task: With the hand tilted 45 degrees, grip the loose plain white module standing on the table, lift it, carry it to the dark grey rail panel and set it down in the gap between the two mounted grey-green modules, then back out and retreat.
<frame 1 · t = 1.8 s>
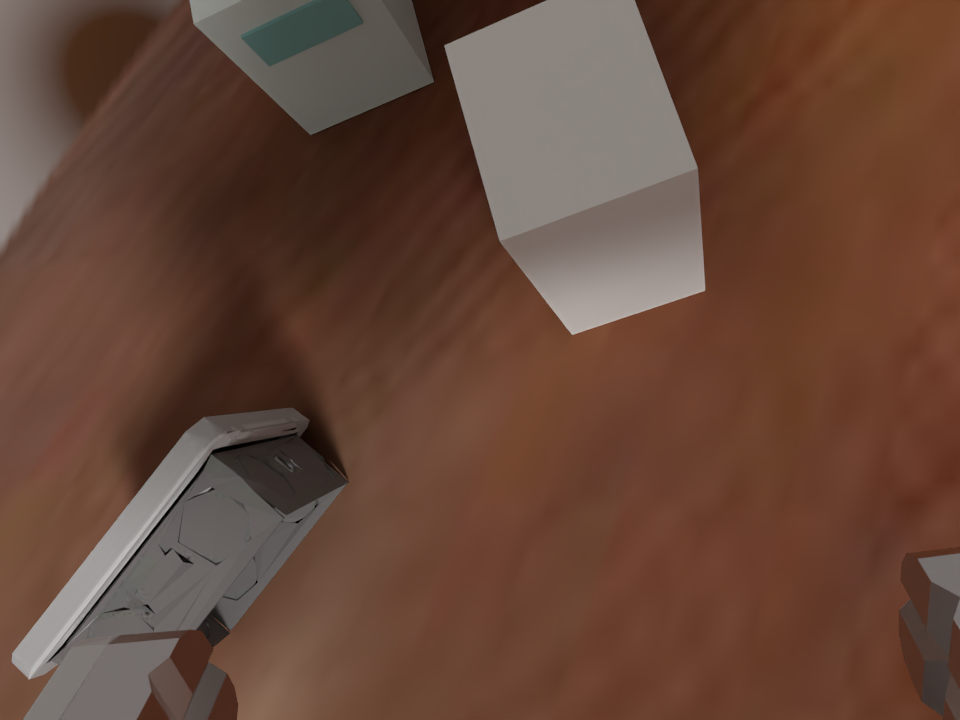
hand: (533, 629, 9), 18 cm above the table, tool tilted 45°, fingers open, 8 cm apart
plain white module: (613, 240, 29), on the table
electrical switch: (279, 535, 30), on the table
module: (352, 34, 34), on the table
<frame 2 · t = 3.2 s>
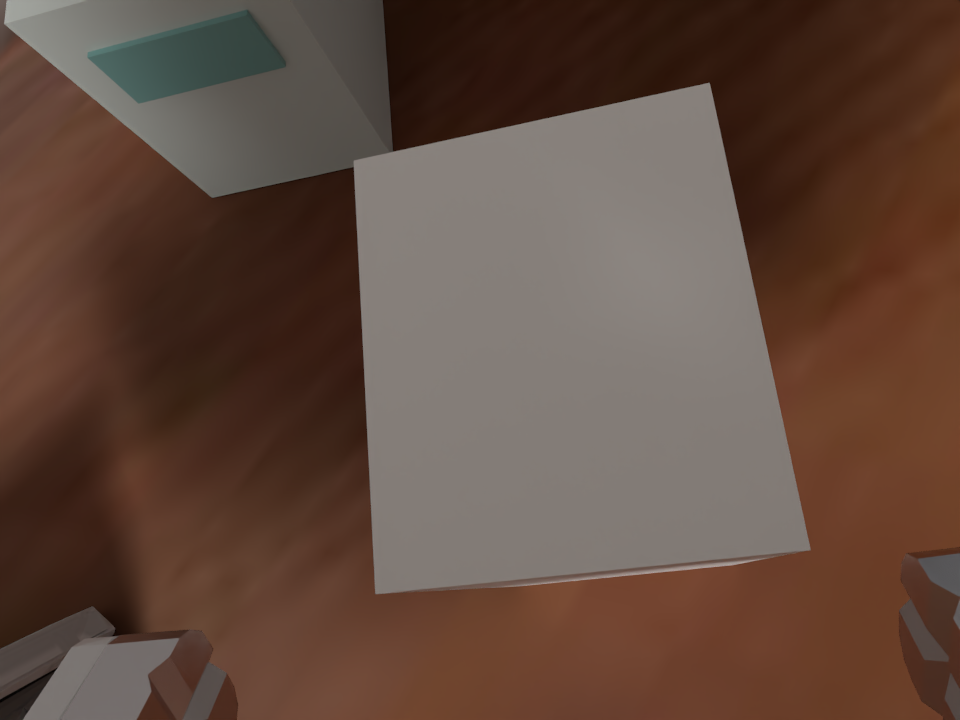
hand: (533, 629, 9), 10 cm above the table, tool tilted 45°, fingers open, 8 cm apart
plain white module: (606, 451, 19), on the table
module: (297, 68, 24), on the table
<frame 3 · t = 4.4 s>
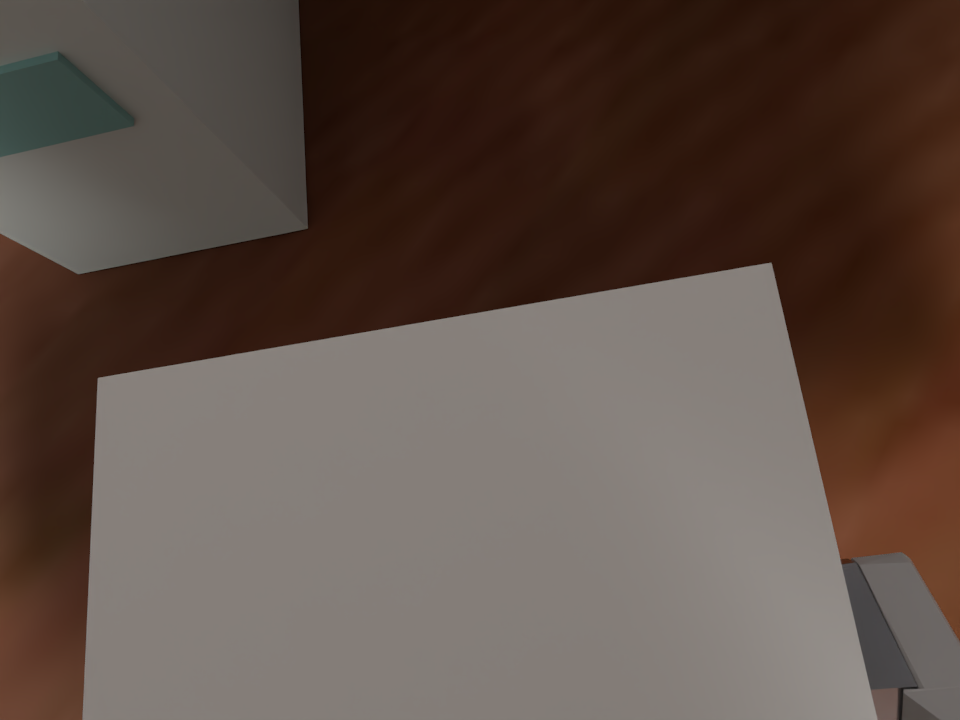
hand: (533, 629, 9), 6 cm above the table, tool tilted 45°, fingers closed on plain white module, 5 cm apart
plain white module: (581, 644, 14), on the table, touching gripper
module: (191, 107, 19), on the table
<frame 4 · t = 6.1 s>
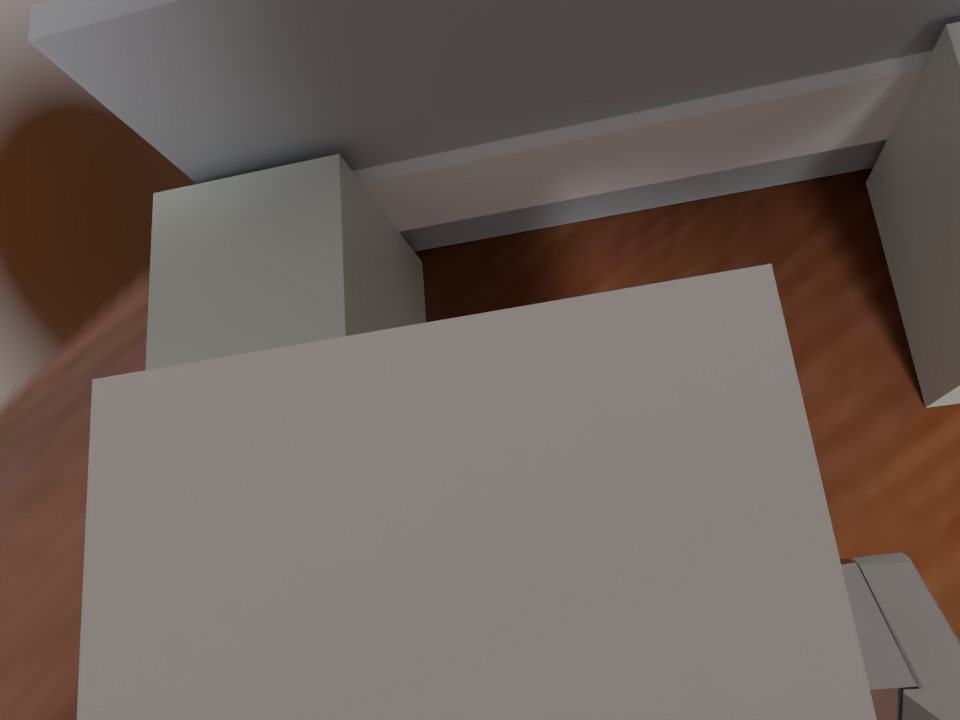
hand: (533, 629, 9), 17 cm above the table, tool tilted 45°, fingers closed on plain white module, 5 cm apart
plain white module: (581, 645, 14), point 11 cm above the table, touching gripper
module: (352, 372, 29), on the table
rail panel: (627, 200, 28), on the table
when the fingers open (7 cm above the table, at t = 8.2 s): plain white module drops 2 cm, on the table.
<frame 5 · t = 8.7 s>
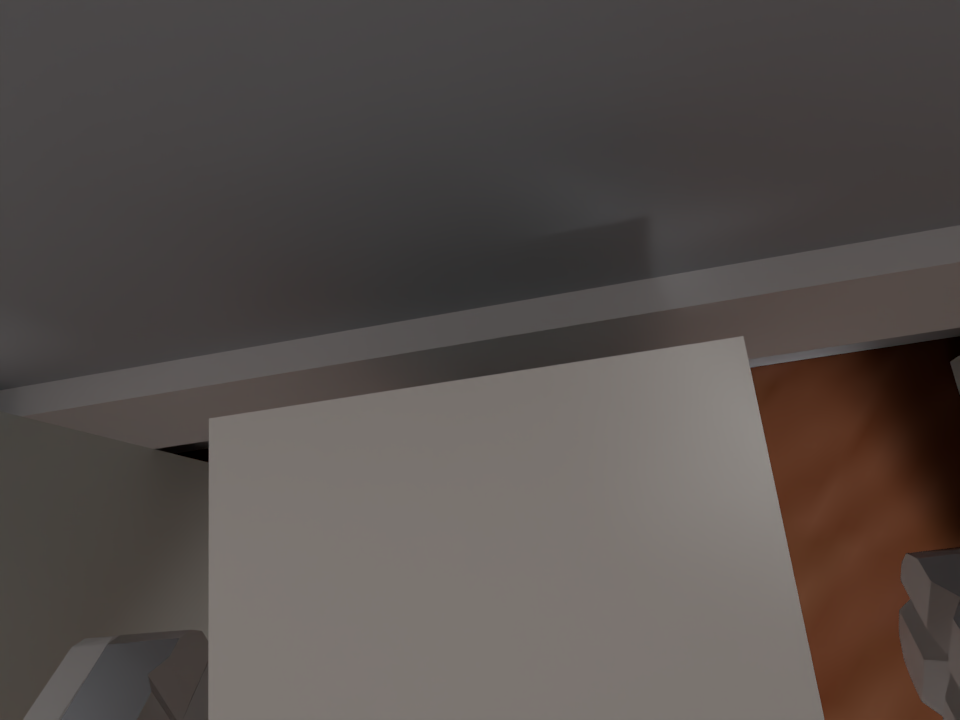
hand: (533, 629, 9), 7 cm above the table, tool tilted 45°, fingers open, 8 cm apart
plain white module: (587, 638, 15), on the table
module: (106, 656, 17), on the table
rail panel: (551, 374, 17), on the table
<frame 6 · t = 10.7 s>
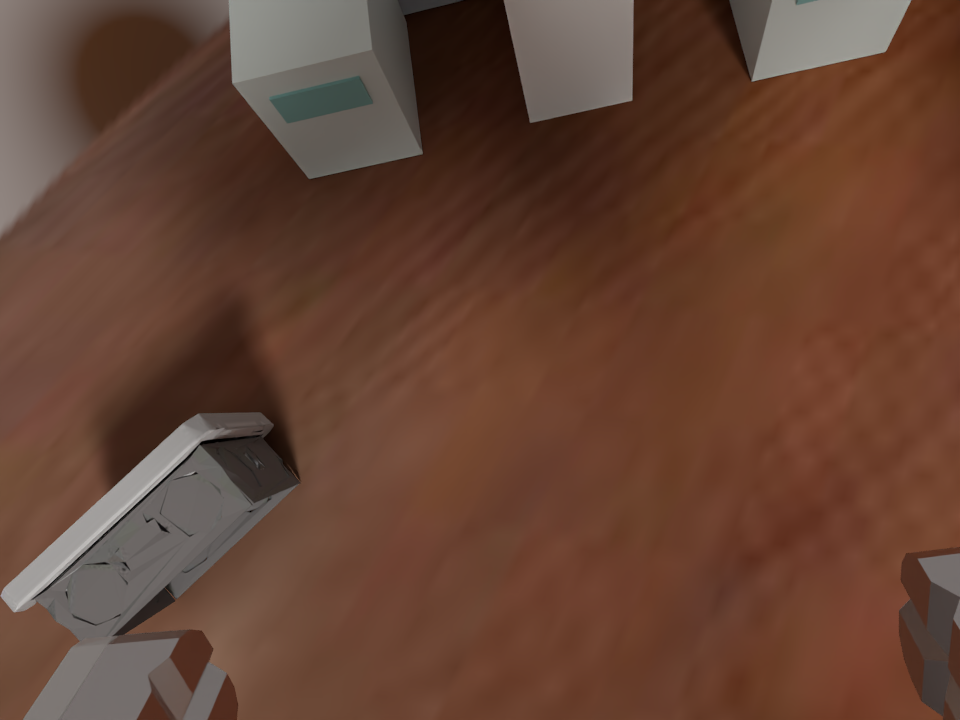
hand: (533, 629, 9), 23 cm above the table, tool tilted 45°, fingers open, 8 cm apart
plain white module: (570, 60, 38), on the table
electrical switch: (232, 520, 35), on the table
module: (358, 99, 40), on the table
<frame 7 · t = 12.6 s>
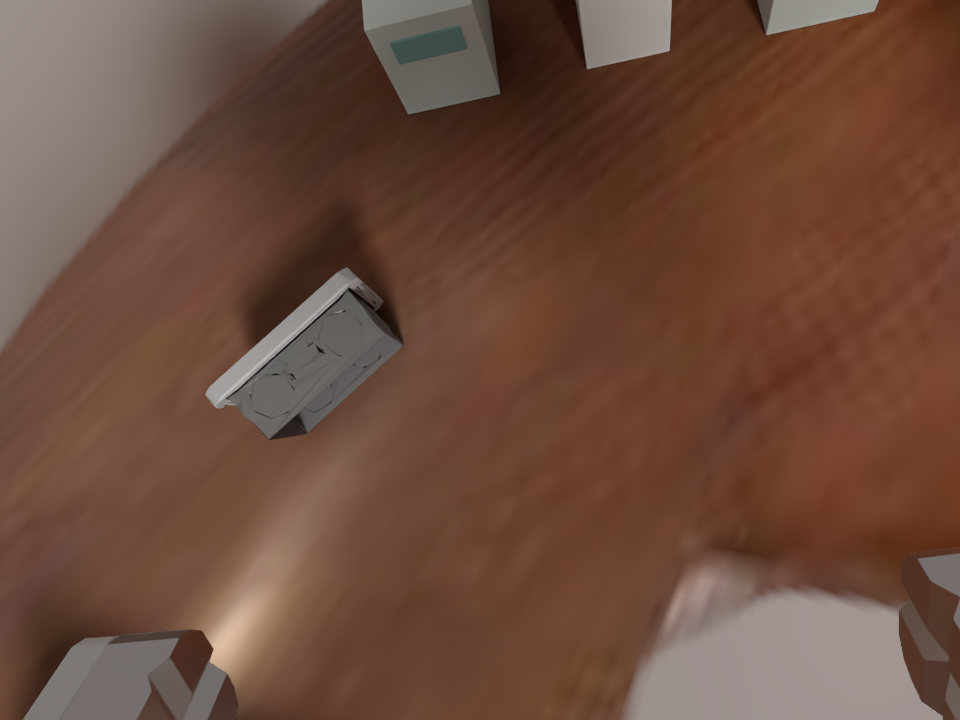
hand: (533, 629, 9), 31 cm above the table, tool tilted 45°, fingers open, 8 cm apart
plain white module: (620, 19, 47), on the table
electrical switch: (349, 375, 45), on the table
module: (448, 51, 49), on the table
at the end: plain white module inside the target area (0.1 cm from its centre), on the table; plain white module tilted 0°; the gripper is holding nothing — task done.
